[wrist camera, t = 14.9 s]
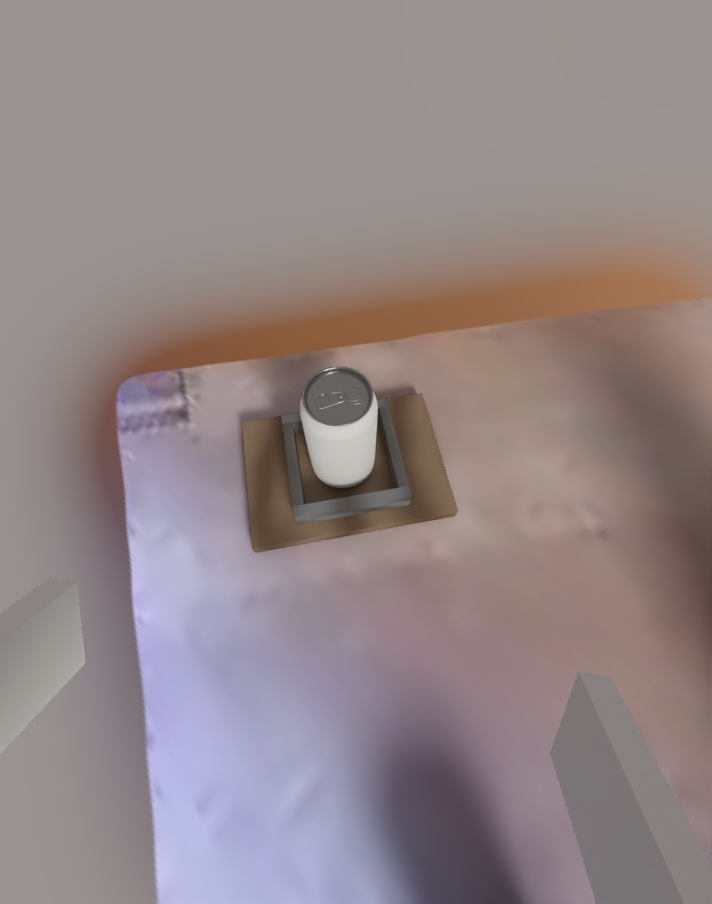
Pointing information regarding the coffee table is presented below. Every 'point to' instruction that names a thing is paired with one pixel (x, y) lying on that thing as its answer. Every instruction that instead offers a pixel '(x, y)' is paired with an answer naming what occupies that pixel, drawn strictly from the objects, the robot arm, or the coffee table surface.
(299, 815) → the coffee table surface
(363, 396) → the can
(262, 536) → the wooden board with frame
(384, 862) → the coffee table surface
